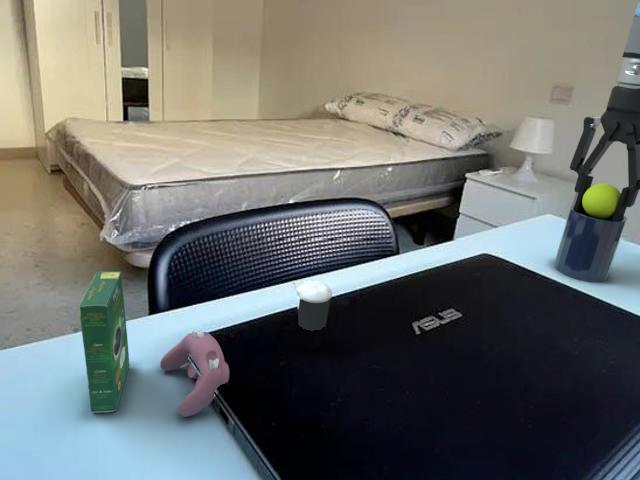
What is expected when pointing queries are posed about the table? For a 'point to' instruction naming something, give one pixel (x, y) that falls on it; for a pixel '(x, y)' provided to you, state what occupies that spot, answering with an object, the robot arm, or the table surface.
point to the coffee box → (105, 340)
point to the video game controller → (209, 365)
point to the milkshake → (313, 304)
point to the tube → (588, 246)
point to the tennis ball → (601, 200)
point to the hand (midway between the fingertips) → (596, 215)
